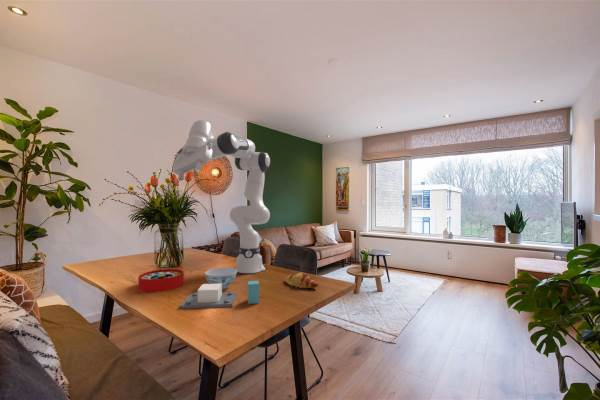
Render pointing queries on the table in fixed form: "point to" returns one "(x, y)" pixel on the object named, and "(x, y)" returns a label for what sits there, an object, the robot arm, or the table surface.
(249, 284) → the teal brick
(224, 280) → the chinaware
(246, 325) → the table surface
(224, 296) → the stack base
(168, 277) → the toy clock
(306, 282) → the croissant
